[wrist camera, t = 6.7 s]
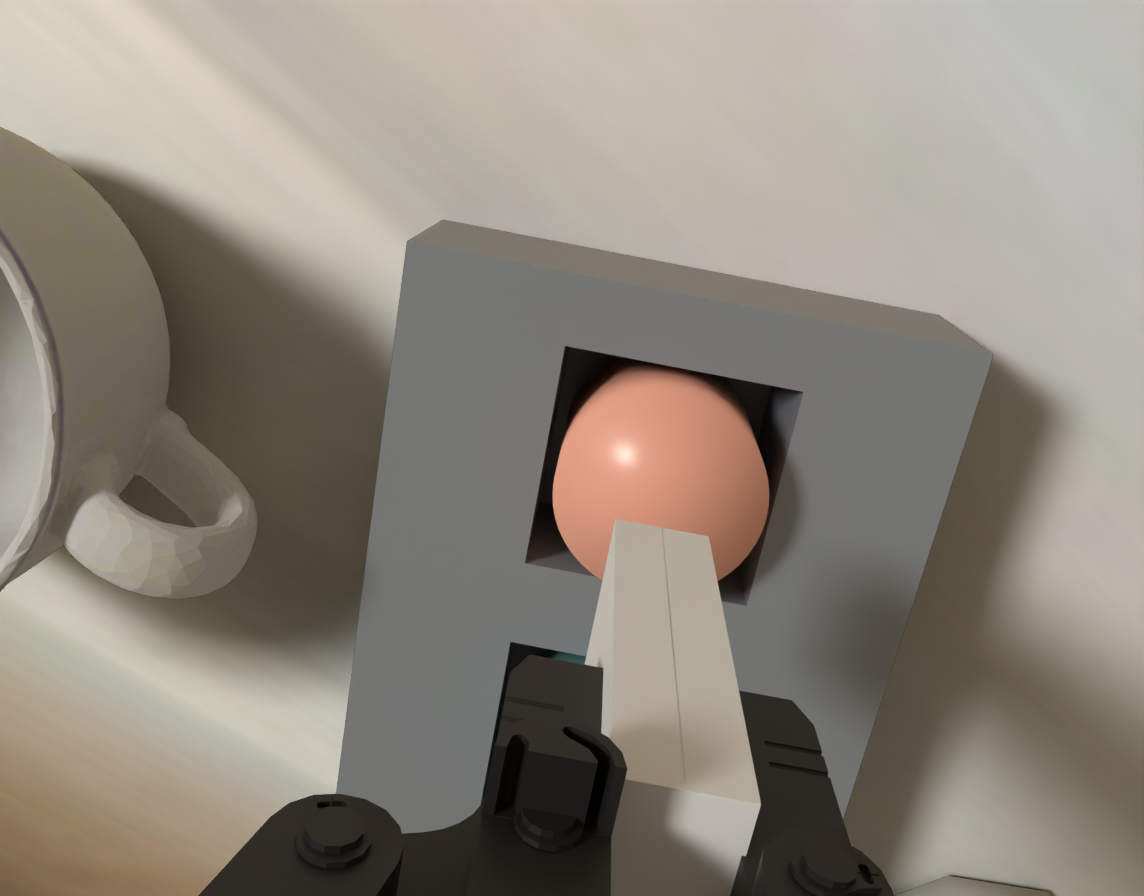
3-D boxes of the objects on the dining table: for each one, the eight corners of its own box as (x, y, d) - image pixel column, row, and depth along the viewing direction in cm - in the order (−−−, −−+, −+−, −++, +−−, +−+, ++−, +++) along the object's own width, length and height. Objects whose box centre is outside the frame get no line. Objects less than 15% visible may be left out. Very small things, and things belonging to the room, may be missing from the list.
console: (343, 938, 32) (303, 1052, 28) (443, 219, 25) (406, 241, 21) (728, 1012, 32) (740, 1136, 28) (939, 315, 25) (993, 353, 21)
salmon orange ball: (550, 508, 25) (535, 574, 22) (583, 335, 24) (573, 375, 20) (727, 542, 25) (741, 614, 22) (770, 371, 24) (792, 418, 20)
